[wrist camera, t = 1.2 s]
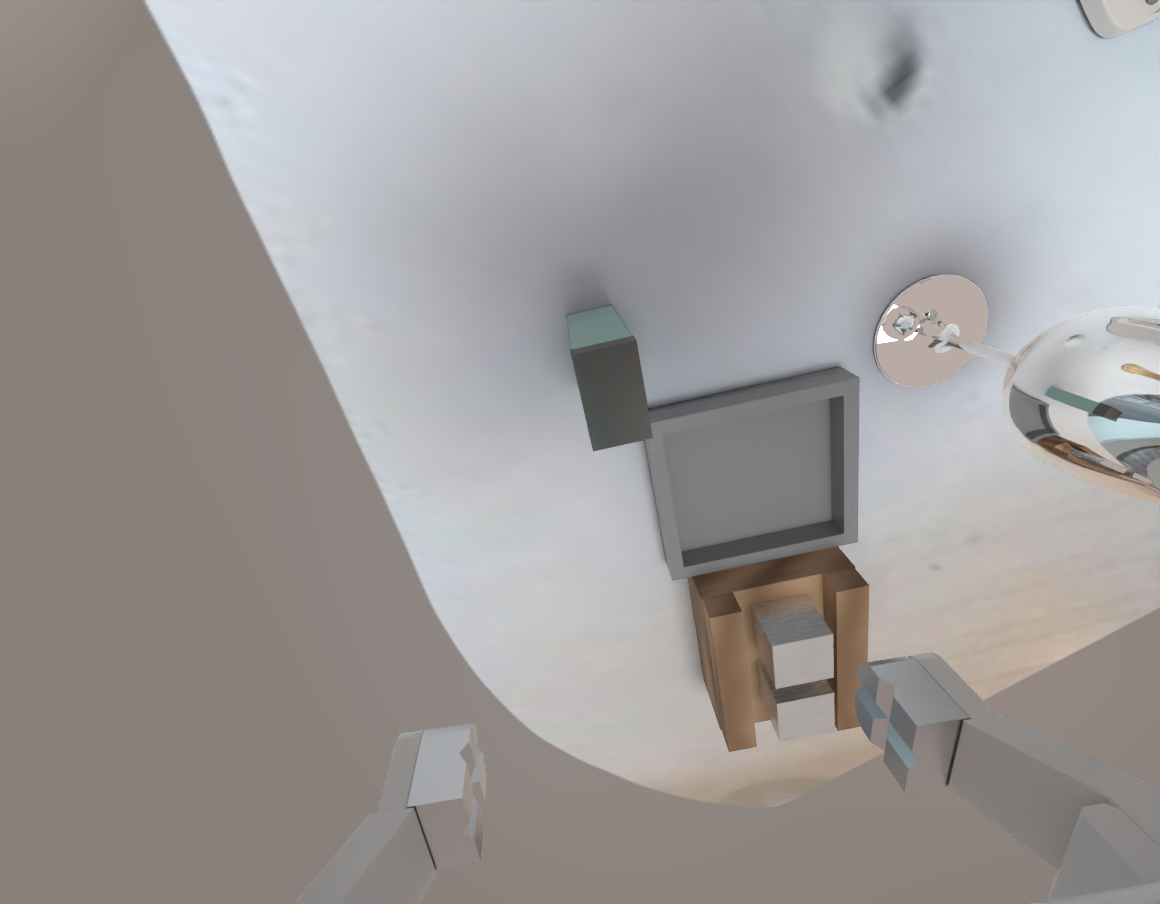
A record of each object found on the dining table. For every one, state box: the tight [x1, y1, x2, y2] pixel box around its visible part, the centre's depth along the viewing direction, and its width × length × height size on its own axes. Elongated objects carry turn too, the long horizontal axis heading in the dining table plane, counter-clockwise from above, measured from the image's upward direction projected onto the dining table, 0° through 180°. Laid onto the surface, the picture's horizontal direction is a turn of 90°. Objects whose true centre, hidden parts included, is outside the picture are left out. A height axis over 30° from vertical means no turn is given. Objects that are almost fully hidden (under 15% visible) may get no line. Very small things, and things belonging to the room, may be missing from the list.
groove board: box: [688, 546, 869, 752], centre depth 42 cm, size 11×14×7 cm
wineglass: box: [874, 274, 1160, 506], centre depth 27 cm, size 8×8×20 cm
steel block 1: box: [751, 594, 834, 689], centre depth 38 cm, size 4×4×4 cm
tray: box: [644, 367, 859, 581], centre depth 39 cm, size 14×13×2 cm
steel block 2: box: [757, 659, 835, 742], centre depth 40 cm, size 4×4×4 cm
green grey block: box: [566, 305, 653, 451], centre depth 31 cm, size 5×3×10 cm, turn 12°
